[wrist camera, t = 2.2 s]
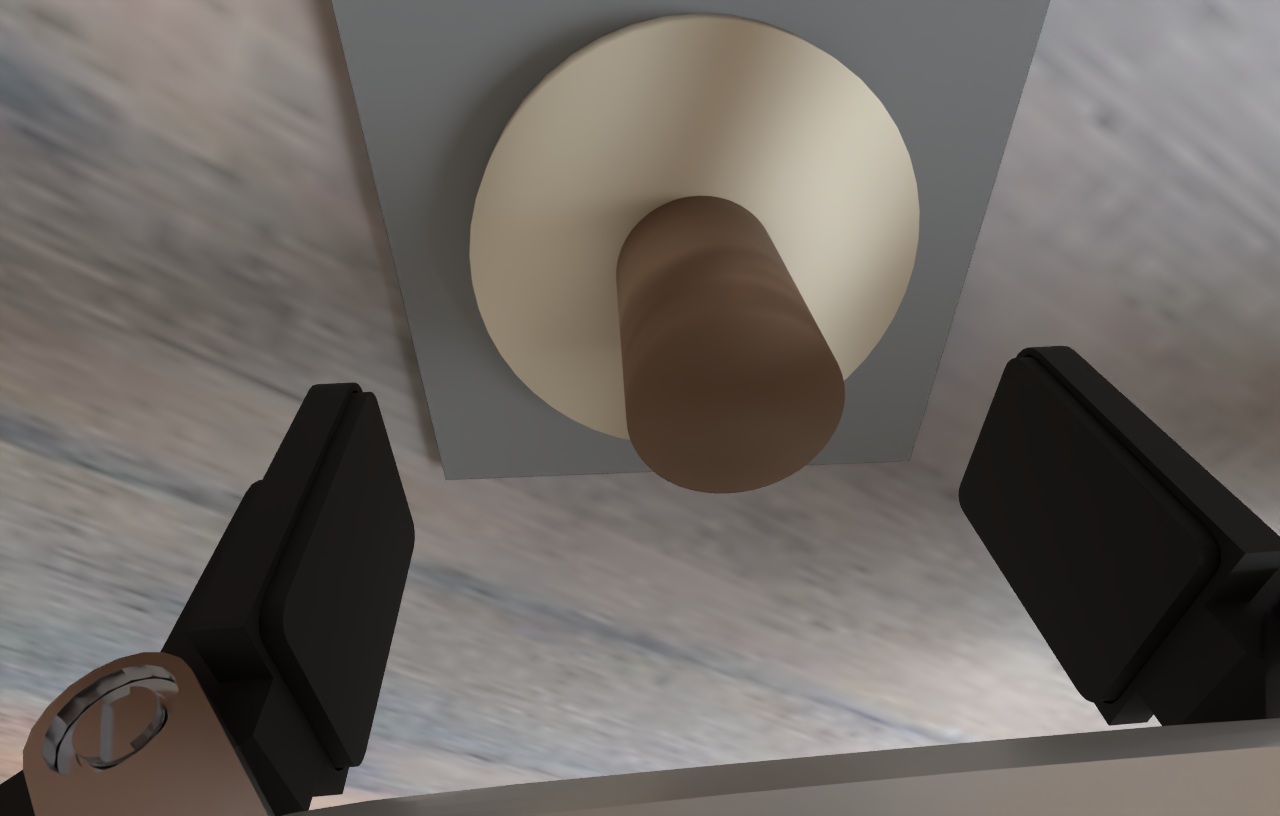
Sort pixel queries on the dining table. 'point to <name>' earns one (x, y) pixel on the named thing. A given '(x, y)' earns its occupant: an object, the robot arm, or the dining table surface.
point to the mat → (543, 38)
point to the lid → (696, 243)
